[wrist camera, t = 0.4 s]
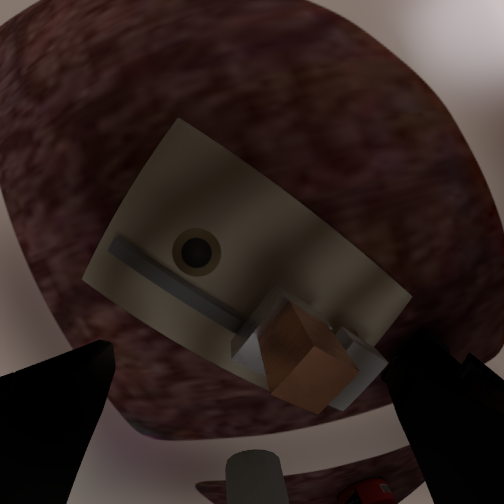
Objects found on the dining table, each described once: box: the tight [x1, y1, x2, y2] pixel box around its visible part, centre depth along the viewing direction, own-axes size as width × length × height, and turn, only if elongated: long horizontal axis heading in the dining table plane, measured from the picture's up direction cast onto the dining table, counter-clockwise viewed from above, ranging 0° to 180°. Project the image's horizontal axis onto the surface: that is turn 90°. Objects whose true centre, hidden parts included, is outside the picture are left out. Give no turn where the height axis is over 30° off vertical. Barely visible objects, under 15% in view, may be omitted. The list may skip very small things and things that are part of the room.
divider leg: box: [230, 283, 360, 414], centre depth 16 cm, size 4×5×8 cm
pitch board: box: [82, 117, 412, 411], centre depth 19 cm, size 22×13×5 cm, turn 54°
